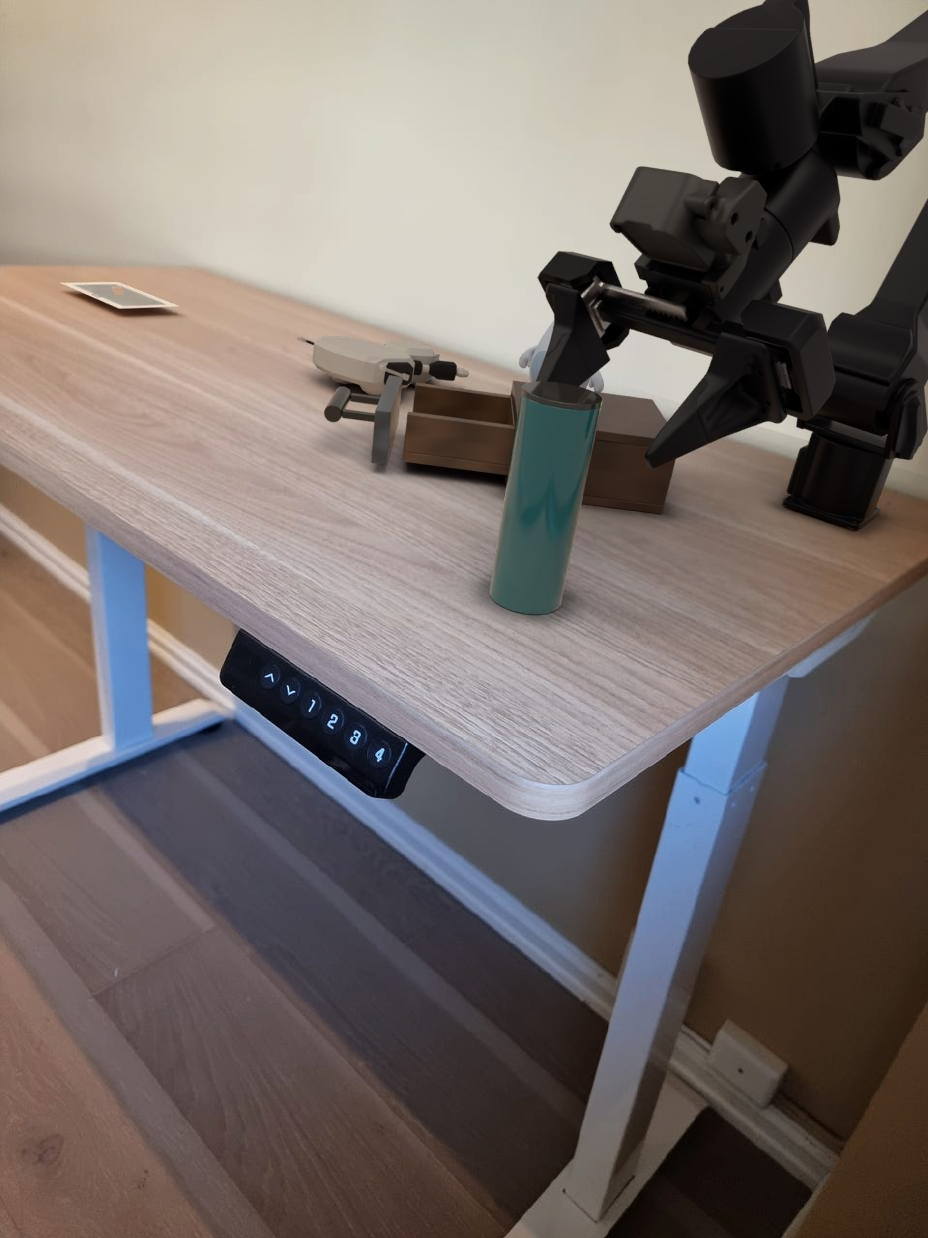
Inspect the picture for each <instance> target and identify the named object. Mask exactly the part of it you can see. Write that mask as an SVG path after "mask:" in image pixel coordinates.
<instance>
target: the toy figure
mask: <svg viewBox="0 0 928 1238" xmlns="http://www.w3.org/2000/svg"><path fill="white" fill-rule="evenodd" d="M553 327H554V320H553V321H552V322H551V323H550V325H549V326H548V327H547V329H546V330H545V332H544V333H543V335H542V336H541V338H540V340H539V342H538V344H536V345H534V346H531V347H529V348H527V349H526V350H524V351H523V352H522V354H521V355H520V356H519V360H518V365H519V367H520V368H521V369H526V368H529V370H528V375H529V380H530V382H536V379H537V377H538V374H539V371H540V369H541V366H542V363H543V360H544V358H545V355H546V352H547V349H548V346H549V343H550V339H551V335H552V331H553ZM579 387H582V388H585V389H587V388H590V389H592V388H593V391H594V392H601V393H603V391H604V388H605V381H604V378H603V375H602V373H601V371H600V370H599V371H597V372H596V373H595V374H594V375H593V376H591V377H590V378H589V379H588V380H586V381H585V382H584V383H583V384H582V385H580V386H579Z"/></svg>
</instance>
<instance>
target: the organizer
mask: <svg viewBox="0 0 928 1238" xmlns="http://www.w3.org/2000/svg"><path fill="white" fill-rule="evenodd" d="M526 383H529V382H528V381H521V380H520V381H519V380H512V383H511V391H510V395H512V396H513V403H514V411H515V420H516V423H517V417H518V411H519V405H520V398H521V392H522V386H523V385H524V384H526ZM592 391H593V392H594V390H592ZM595 393H597V394H599V395H600V396H601V397H602V398H603V403H602V408H601V412H600V417H599V422H598V427H597V432H596V437H595V442H594V446H593V451H592V456H591V461H590V466H589V471H588V475H587V480H586V485H585V490H584V495H583V500H582V505H591V506H597V507H603V508H604V507H605V508H611V509H612V508H613V509H621V510H629V511H635V512H643V513H651V514H660V515H662V514H663V512H664V508H665V503H666V499H667V496H668V492H669V488H670V483H671V481H672V480H671V479H672V476H673V472H674V468H675V465H676V461H677V459H675V460H673V461H671V462H669V463H666V464H664V465H662V466H660V467H658V468H655V469H653V468H650V467H648V465H647V463H646V461H645V459H644V455H645V453H646V451H647V450H648V448H649V446H650V445H651V443H652V442H653V440H654V439H655V437H656V436H657V434H658V433H659V431H660V430H661V429H662V428H663V426H664V425H665V424H666V423H667V421H668V420H667V419H666V418H665V417H664V415H663V413H662V412H661V410H660V408H659V407H658V406H657V404H656V402H655V401H654V399H652V398H646V397H645V398H643V397H637V396H631V395H624V394H623V395H622V394H615V393H608V392H595ZM507 479H508V475H504V483H505V484H504V485H505V486H506V485H507Z"/></svg>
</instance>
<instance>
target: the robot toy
mask: <svg viewBox="0 0 928 1238" xmlns="http://www.w3.org/2000/svg"><path fill="white" fill-rule="evenodd" d="M296 339H297V340H298V341H299V342H302V343H306V344H310V345H312V346H313V352H312V363H313V365H314V366H315V367H316V368H317V369H318V370H319V371H321V372H322V373H325V374H326V375H329V377H330V378H331V379H332V380H333V381H335V382H337V383H338V384H343V385H351V384H356V385H358V386H359V387H360V389H361V390H362V391H363V392H365V393H366V394H367V395H370V396H377V397H381V395H382V392H383V390H384V387H385V385H386V382H387V380H388V377H389V375H391V376H398V377H403V380H402V389H407V387H409V385H411V386H415V385H416V383H423V384H427V382H429V381H431V380H432V379H433V378H434V379H436V380H438V381H447V382H454V381H455V380H456V377H458V378H468V377H469V375H470V372H469V370H467V369H465V368H464V367H460V366H458V365H457V363H456V362H454V361H450V360H449V361H448V360H440V357H441V355H440V353H439V352H435V351H434V350H433V349H432V347H430V346H428V345H425V344H422V343H419V342H415V341H410V340H389V341H388V340H387V342H385V344H381V343H378V342H373V341H370V340H367V339H362V338H357V337H351V336H328V335H321V336H319V337H318V338H317V339H316V340H314V341H312V340H309V339H307V338H305V337H303V336H300V335H299V336H297V337H296Z"/></svg>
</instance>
